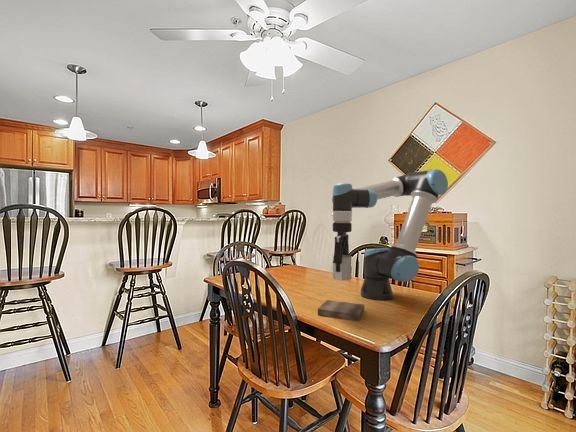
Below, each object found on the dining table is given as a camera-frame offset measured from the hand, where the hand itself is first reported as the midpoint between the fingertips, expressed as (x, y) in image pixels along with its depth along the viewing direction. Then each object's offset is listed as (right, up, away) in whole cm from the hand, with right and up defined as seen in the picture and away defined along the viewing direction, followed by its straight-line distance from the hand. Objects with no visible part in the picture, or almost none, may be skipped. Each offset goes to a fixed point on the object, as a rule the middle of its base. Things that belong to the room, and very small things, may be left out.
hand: (341, 277), depth 122 cm
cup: (0, 0, 0) cm, 0 cm away
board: (0, -14, 0) cm, 14 cm away
